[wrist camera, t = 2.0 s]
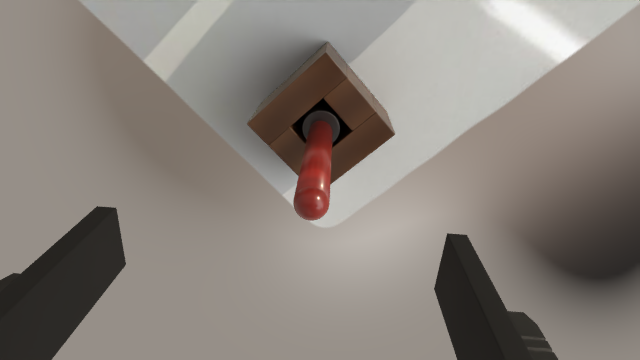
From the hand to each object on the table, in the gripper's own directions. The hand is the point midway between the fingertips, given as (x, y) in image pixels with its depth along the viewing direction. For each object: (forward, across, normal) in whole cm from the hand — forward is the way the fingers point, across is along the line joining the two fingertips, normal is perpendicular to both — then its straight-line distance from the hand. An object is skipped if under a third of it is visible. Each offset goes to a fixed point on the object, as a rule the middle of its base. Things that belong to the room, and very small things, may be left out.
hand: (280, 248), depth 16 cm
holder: (+26, +1, -1) cm, 26 cm away
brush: (+26, +1, -1) cm, 26 cm away
